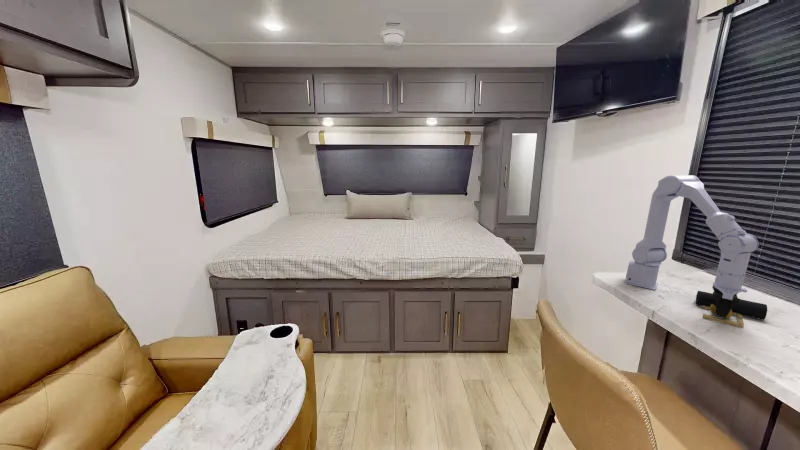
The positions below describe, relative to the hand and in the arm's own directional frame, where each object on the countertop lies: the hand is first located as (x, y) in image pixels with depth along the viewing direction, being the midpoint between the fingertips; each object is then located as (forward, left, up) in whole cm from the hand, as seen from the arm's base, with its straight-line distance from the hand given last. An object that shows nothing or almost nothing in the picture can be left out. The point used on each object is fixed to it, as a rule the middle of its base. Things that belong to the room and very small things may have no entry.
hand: (720, 312), depth 93 cm
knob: (0, 0, -2) cm, 2 cm away
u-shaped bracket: (0, 0, -1) cm, 1 cm away
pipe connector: (+2, +11, -2) cm, 11 cm away
